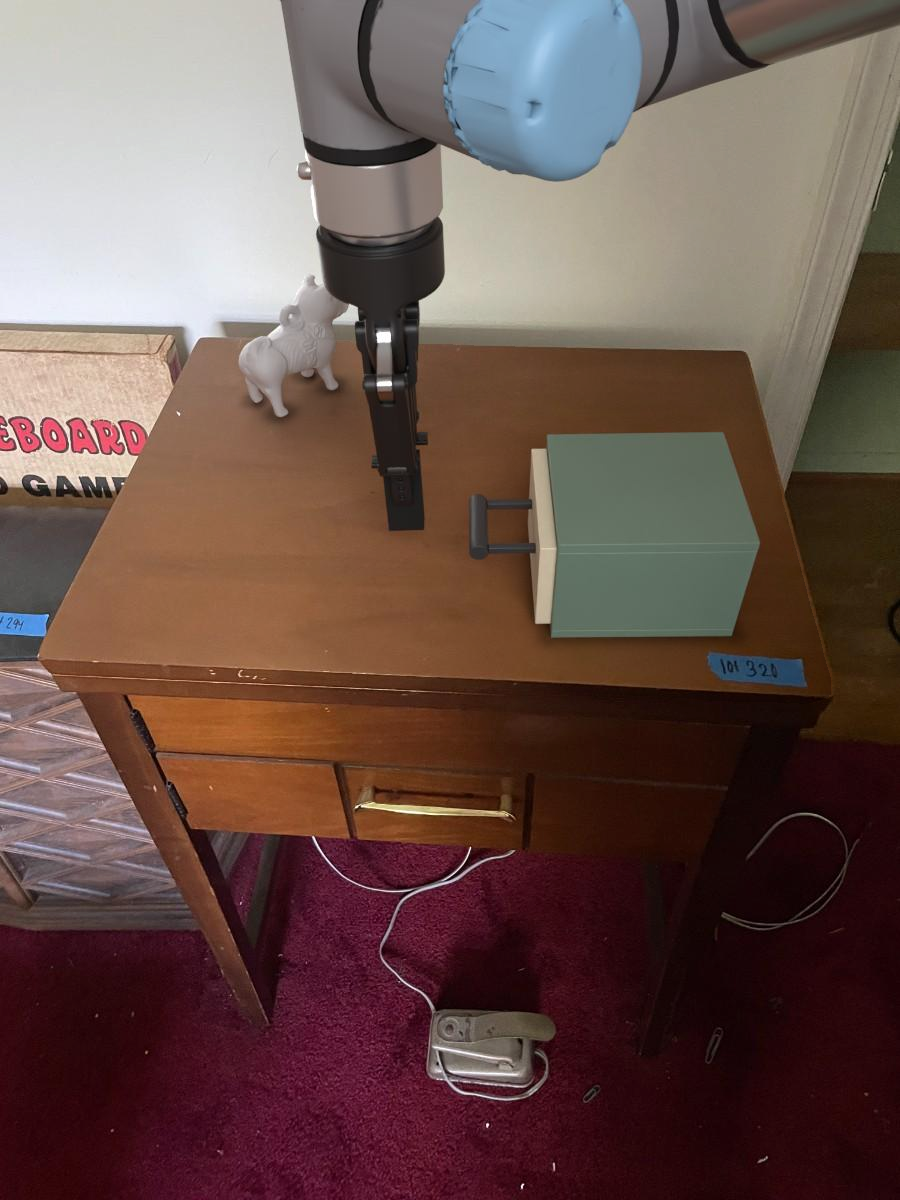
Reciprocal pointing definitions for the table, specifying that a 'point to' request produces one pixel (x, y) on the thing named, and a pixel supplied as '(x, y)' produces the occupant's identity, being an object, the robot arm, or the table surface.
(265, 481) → the table surface
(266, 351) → the dog figurine
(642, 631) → the cabinet
